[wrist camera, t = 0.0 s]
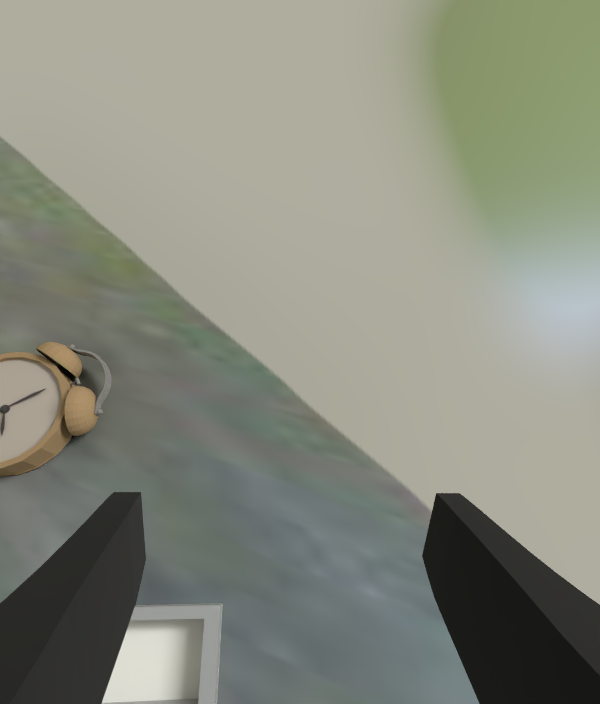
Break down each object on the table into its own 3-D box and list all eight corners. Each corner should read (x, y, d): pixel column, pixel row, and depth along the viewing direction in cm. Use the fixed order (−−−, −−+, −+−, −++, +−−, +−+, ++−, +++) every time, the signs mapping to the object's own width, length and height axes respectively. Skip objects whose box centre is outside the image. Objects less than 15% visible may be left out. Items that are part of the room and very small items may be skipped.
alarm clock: (-80, 388, 41) (73, 310, 43) (-39, 402, 45) (96, 331, 48) (-51, 497, 37) (115, 405, 39) (-10, 501, 41) (137, 418, 44)
